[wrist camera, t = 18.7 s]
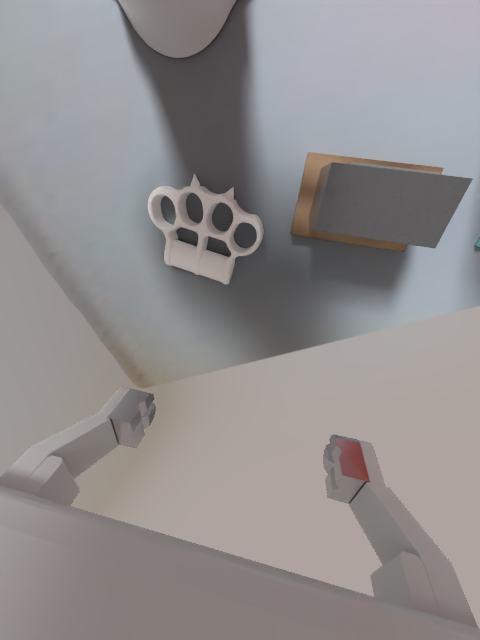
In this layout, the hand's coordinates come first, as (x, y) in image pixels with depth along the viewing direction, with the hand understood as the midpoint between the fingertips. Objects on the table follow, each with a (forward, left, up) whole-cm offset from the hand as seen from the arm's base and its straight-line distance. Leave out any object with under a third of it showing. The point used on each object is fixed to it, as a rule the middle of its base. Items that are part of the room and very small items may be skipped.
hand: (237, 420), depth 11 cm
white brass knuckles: (-1, -12, -33) cm, 35 cm away
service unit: (-8, +10, -30) cm, 33 cm away
